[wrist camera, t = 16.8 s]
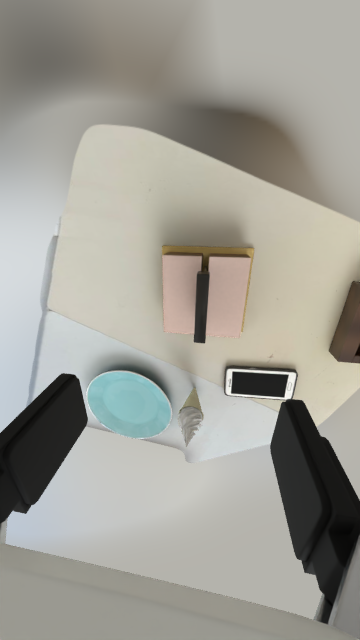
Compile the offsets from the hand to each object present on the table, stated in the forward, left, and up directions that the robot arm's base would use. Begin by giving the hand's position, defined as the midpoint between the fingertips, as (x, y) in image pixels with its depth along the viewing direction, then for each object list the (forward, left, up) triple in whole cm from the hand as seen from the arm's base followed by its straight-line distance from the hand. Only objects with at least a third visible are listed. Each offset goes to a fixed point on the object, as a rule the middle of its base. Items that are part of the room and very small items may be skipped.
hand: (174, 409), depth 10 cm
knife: (+4, 0, -33) cm, 33 cm away
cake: (+4, 0, -33) cm, 34 cm away
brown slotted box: (+8, +28, -33) cm, 44 cm away
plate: (+34, -17, -34) cm, 51 cm away
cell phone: (+24, +13, -33) cm, 43 cm away
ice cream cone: (+28, -1, -34) cm, 44 cm away
